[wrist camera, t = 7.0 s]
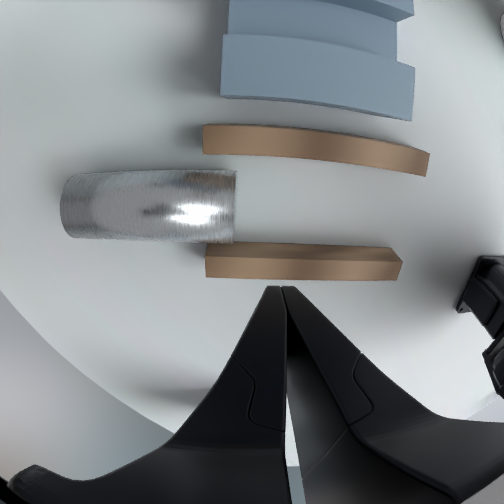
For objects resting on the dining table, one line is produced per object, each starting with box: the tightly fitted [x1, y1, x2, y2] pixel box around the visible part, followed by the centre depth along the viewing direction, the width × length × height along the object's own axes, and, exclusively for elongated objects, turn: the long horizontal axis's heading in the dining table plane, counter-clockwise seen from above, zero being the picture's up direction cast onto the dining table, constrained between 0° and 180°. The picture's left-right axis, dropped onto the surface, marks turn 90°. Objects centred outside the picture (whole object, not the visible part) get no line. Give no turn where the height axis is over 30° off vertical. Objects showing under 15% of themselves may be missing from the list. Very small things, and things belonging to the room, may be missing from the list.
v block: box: [220, 0, 415, 121], centre depth 10 cm, size 9×9×4 cm
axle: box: [60, 170, 237, 244], centre depth 15 cm, size 10×4×4 cm, turn 87°
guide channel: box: [203, 124, 430, 281], centre depth 16 cm, size 13×9×2 cm
